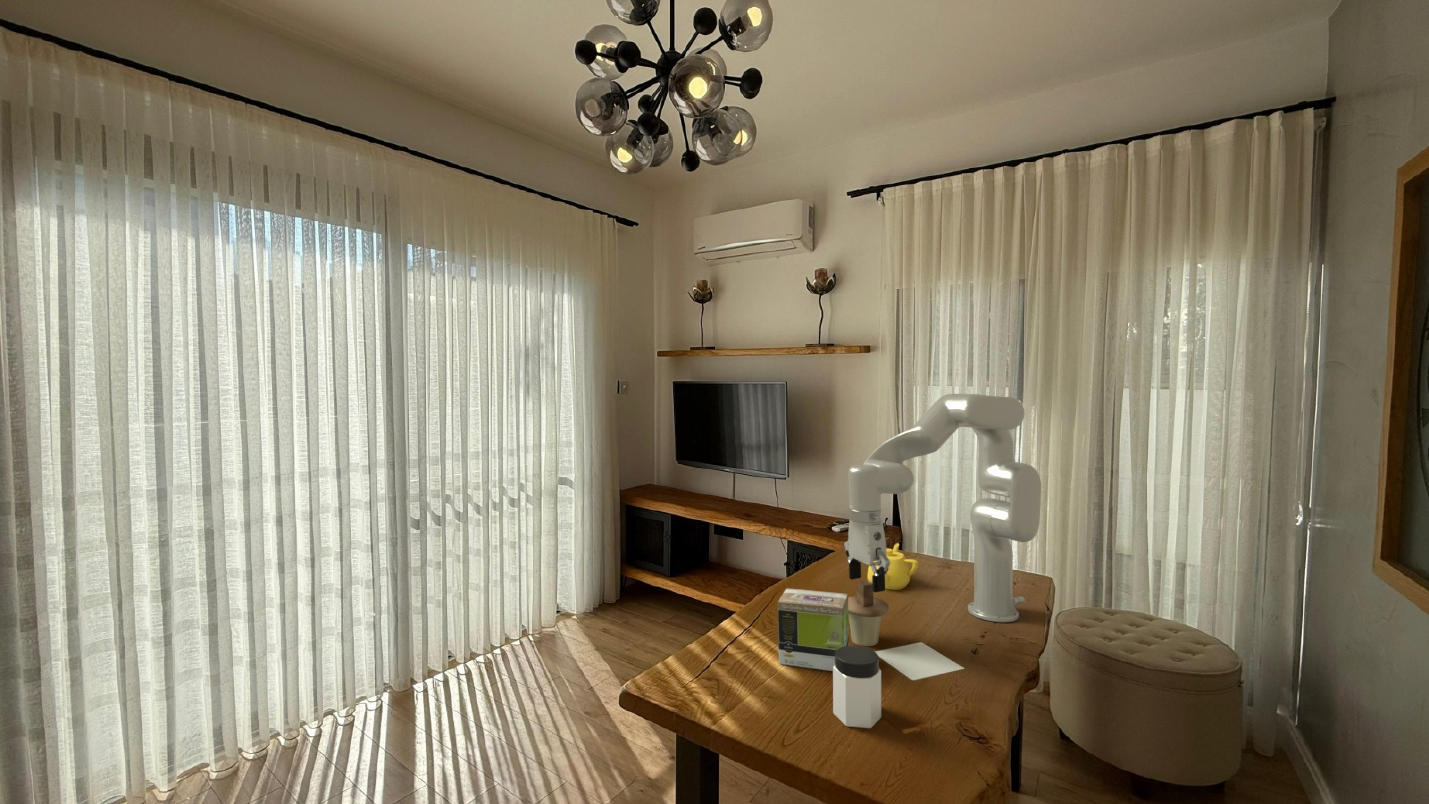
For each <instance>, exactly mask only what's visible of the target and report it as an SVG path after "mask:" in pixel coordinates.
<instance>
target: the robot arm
mask: <svg viewBox="0 0 1429 804" xmlns="http://www.w3.org/2000/svg"><path fill="white" fill-rule="evenodd" d="M1024 419H1025V408H1024V406H1023V404H1022V403H1021V401H1019V400H1018V399H1017V398H1015V397H1012V396H998V395H997V396H996V395H987V394H979V393H978V394H977V393H948V394H944V395H942V396H941V397H939V398H938V399H937V400H936V401H935V402H934V403H933V405H931V407H929V409H928V410H927V411H926V412H925V413H924V414H923V415H922V416H921V417H920V418H919V419H918V420H917V421H916V422H915V424H914V425H913V426H912V427H910V428H909V429H906V430H905V431H902V432H900V433H898V434H897V435H895V436H894V437H893V436H892V438H891V437H890V438H889V439H888V440H886V441H884V442H883V443H882V444H880V445H878V447H877V448H876V449H875V450H873V451H872V452H871V454H869V455H868V457H866V460H864V462H863V464H853V465H852V466H850V467H849V469H848V475H847V476H848V477H847V478H848V504H849V505H848V509H849V510H848V513H849V514H848V515H849V518H848V519H849V523H848V532H847V534H848V536H847V541H844V544H843V545H844V549H845V555H846V556H847V563H848V577H849V580H856V579H861V578H862V565H861V564H864V565H866V566H868V567H869V566H871V568H872V571H873V573H874V575H872V587H873V593H880V592H885V590H886V589H885V575H886V574H887V571H888V568H889V565H890V560H889V559H888V557H887V551H886V549H887V541H886V535H885V534H886V533H885V529H884V528H885V527H884V524H883V522H882V501H881V499H882V497H881V496H882V495H883V494H887V495H888V494H889V495H898V494H903V493H906V492H908V491H909V490H910V489H911V488H912V487H913V485H914V484H913V483H914V481H915V480H914V477H915V476H914V474H913V471H912V469H911V468H909V467H908V466H907V465H904V464H902V463H903V462H904V461H907V460H910V459H913V458H917V457H918V458H919V457H922V456H927V455H929V454H933V453H935V452H937V451H939V450H940V449H941V447H942V446H943V445H944V444H945V443H946V442H947V440H948V439H950V438H951V436H952V435H953V434H954V433H955V432H956V431H957V430H958V429H960V428H970V429H972V430H973V432H974V433H975V435H976V438H977V440H978V441H977V442H978V466H977V467H978V468H977V469H978V470H977V480H978V485H979V488H980V489H981V491H983V492H985V493H988V494H991V495H996V496H1000V497H1005V498H1009V501H1007V500H1002V499H996V498H989V497H984V498H980V499H977V501H975V502H974V503H973V504H972V506H971V508H970V512H969V513H970V514H969V517H970V524H971V529H972V532H973V533H972V534H973V546H974V547H973V551H974V552H973V553H974V554H973V555H974V557H973V558H974V559H973V560H974V561H973V562H974V563H973V564H974V567H973V568H974V569H973V574H974V576H973V578H974V579H973V587H974V588H973V591H974V592H973V598H974V599H973V601H972V602H970V603H968V605H967V611H968V612H969V614H970V615H972V616H973V617H976V618H978V619H981V620H985V621H988V622H989V621H990V622H993V623H995V622H996V623H1011V622H1014V621H1017V620H1018V619H1019V618H1020V616H1019V615H1020V613H1019V611H1018V610H1017V609H1016V607H1017V606H1018V605H1022V604H1025V603H1026V600H1025V597H1023V596H1017V597H1014V596H1013V583H1014V581H1013V575H1014V574H1013V572H1014V571H1013V569H1014V566H1013V563H1014V562H1013V561H1014V554H1013V548H1012V544H1011V540H1012V541H1015V542H1020V543H1027V542H1030V541H1032V540H1033V539H1035V537H1036V536H1037V534H1038V531H1039V529H1040V522H1041V520H1040V519H1041V504H1042V503H1041V502H1042V501H1041V500H1042V499H1041V498H1042V481H1041V477H1040V475H1039V473H1038V471H1037V469H1036V468H1035V467H1033V466H1032V465H1030V464H1028V463H1025V462H1024V463H1023V462H1018V461H1017V462H1016V461H1015V459H1014V441H1013V436H1012V435H1011V432H1010V431H1011V430H1015V429H1017V428H1018V427H1019V426H1020V425H1021V424H1022V423H1023V421H1024ZM873 561H877V562H873ZM876 566H879V569H878V570H877V568H876Z"/></svg>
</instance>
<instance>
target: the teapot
mask: <svg viewBox="0 0 1429 804" xmlns="http://www.w3.org/2000/svg"><path fill="white" fill-rule="evenodd" d="M899 547H900V544H899V543H898V542H897V543H895V544H894V546H893V549H891V548H886V551H887V557H888V559H889V560H890V565H889V568H888V571H887V574H886V575H885V590H891V591H900V590H902V589H904V588H906V587H907V586H908V585H909V583H910V580H911V576H912V575H913V574H914V573H915V572H916V571H917V570H918V568H919V561H918V560H916V559H912V558H911V559H910V558H909V559H908V558H906V556H905V554H904V553H902V552H899V549H900V548H899ZM873 562H877V561H873ZM909 564H911V565H912V566H911V568H909ZM876 568H877V570H878V569H879V566H876ZM872 575H874V573H873V571H872V568H871V566H869V565H868V570H867V581H868V582H870V583H872Z"/></svg>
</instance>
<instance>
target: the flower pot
mask: <svg viewBox="0 0 1429 804" xmlns="http://www.w3.org/2000/svg"><path fill="white" fill-rule="evenodd" d="M883 616H884V615H883ZM883 616H879V617H862V616H857V615H853V614H850V613H848V618H849V630H850V636H851V641H852V642H853V643H854V644H855V645H857V646H863V647H873V646H876V645H877V644H878V643H879V635H880V632H881V631H880V630H881V624H882V623H881V622H882V619H883Z"/></svg>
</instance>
